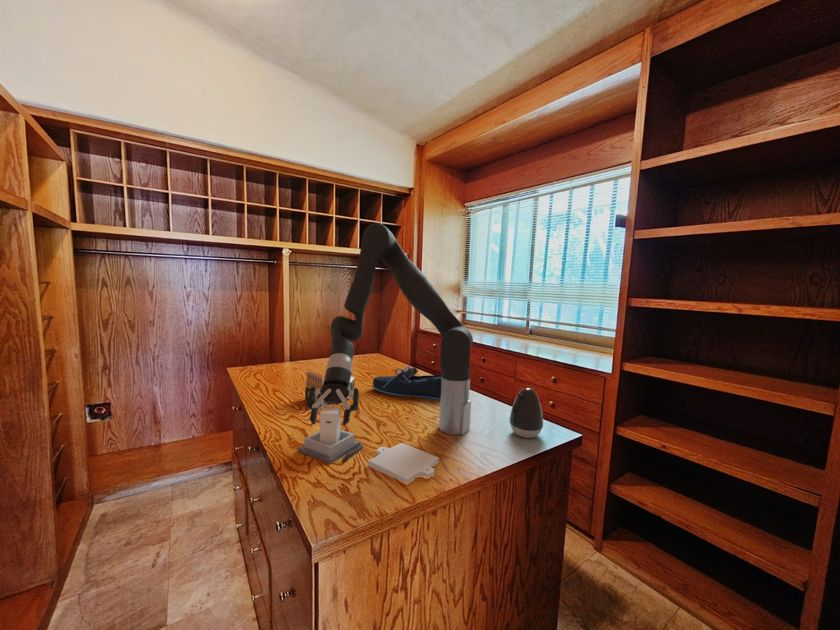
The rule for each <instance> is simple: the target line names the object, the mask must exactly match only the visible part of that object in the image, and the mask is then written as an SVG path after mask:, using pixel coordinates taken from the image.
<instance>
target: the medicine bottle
mask: <svg viewBox="0 0 840 630" xmlns="http://www.w3.org/2000/svg"><path fill="white" fill-rule="evenodd" d="M352 375H353V372H352V373H351V377H350V384H349V390H354V389H355V382H356V380H355V376H352ZM351 399H353V397H352V396H351V394H349V396H348V397H347V398H346V400H351Z"/></svg>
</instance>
